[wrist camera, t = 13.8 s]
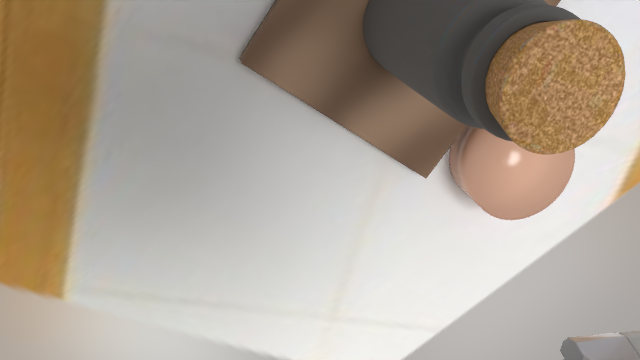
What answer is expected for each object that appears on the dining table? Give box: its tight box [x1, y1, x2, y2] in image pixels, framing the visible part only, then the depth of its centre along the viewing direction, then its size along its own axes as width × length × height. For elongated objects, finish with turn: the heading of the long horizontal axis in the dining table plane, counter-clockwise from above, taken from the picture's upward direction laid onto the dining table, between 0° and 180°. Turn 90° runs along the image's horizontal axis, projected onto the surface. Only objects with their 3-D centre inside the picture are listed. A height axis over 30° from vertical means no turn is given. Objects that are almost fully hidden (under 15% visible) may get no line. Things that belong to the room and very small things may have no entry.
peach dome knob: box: [449, 125, 575, 220], centre depth 38 cm, size 7×7×4 cm
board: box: [240, 0, 561, 178], centre depth 34 cm, size 14×14×1 cm
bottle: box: [363, 0, 625, 155], centre depth 26 cm, size 6×6×15 cm
